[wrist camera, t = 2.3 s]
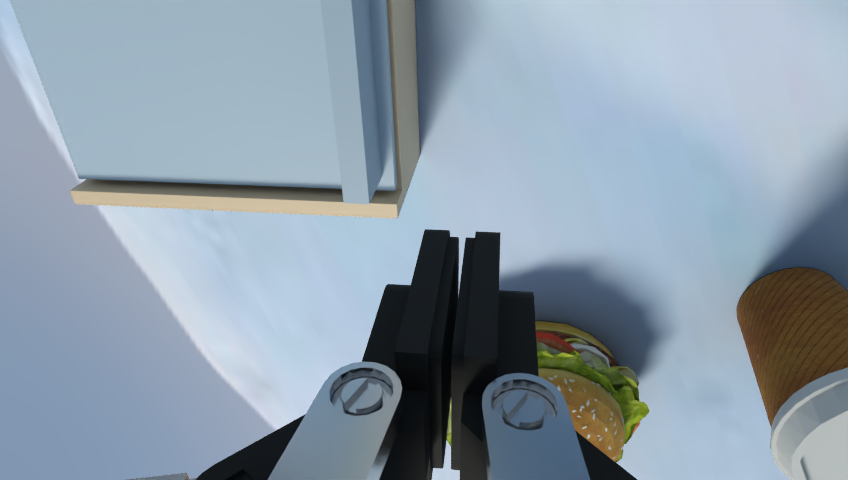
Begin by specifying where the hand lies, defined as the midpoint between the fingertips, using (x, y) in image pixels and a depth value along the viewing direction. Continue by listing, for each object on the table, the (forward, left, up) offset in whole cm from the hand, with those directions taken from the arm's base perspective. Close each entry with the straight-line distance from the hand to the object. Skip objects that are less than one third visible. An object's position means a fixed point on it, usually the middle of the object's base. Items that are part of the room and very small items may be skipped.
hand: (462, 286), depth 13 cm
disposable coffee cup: (+16, +20, -22) cm, 34 cm away
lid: (0, -13, -15) cm, 20 cm away
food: (+24, +4, -22) cm, 33 cm away
